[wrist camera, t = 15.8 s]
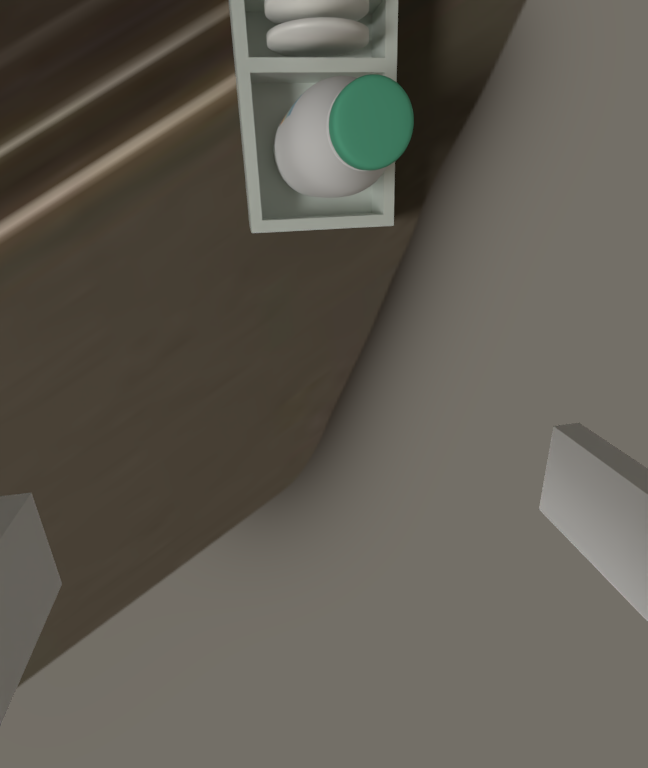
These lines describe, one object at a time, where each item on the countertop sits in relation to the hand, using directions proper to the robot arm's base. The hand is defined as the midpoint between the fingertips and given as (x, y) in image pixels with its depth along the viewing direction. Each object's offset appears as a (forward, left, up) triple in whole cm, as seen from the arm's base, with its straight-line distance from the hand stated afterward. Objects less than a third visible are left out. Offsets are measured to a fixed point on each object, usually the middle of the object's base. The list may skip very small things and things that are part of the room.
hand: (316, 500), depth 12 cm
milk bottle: (+7, +11, -38) cm, 40 cm away
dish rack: (+7, +13, -39) cm, 41 cm away
